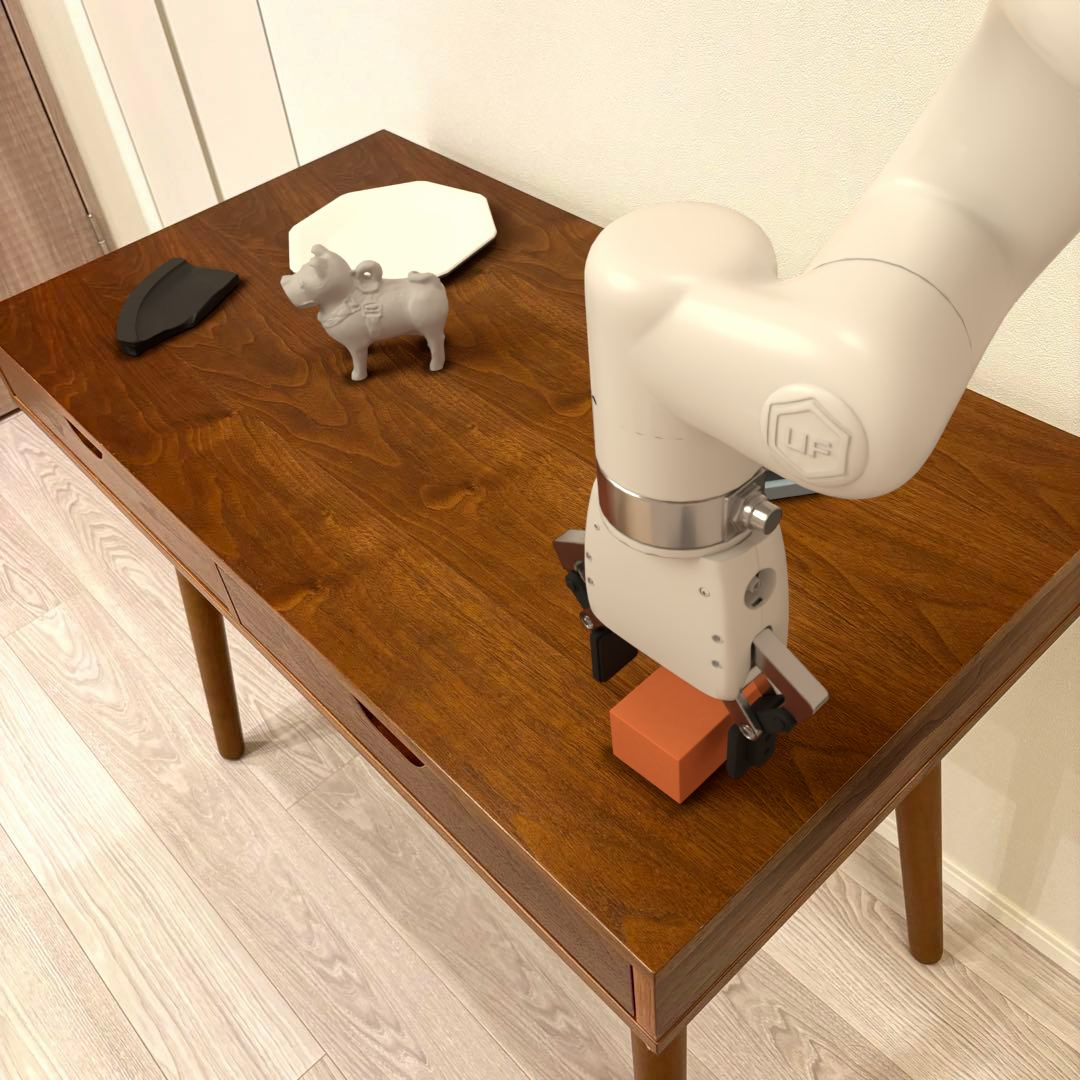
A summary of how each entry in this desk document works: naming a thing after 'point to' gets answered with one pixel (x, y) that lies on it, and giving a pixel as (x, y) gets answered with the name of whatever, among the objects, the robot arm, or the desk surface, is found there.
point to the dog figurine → (370, 304)
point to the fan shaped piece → (170, 303)
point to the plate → (398, 229)
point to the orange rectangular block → (672, 732)
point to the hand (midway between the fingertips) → (679, 712)
